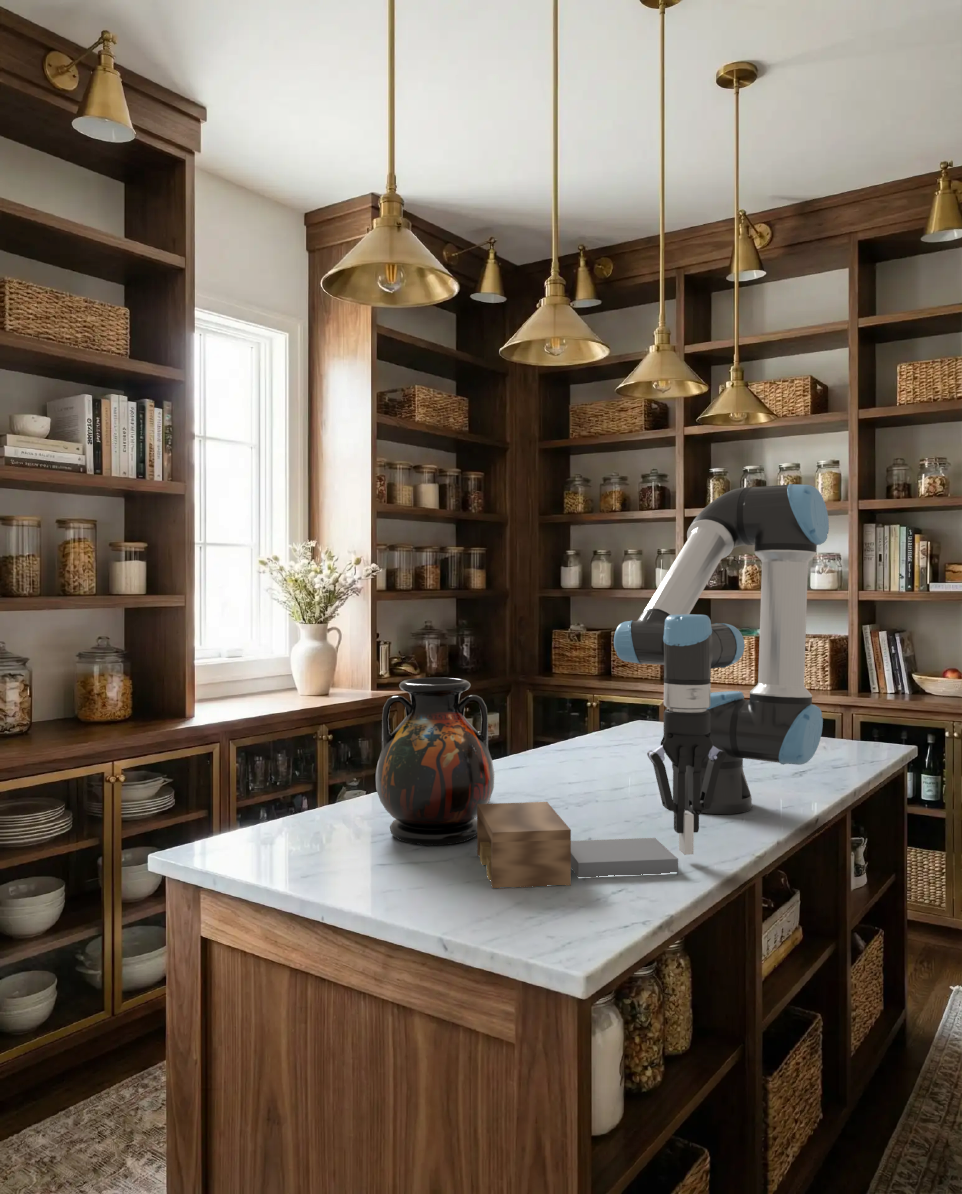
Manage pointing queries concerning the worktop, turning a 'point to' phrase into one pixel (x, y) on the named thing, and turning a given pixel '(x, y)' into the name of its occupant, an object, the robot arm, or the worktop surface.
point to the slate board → (621, 857)
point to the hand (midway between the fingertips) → (686, 852)
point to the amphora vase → (434, 764)
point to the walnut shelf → (523, 844)
